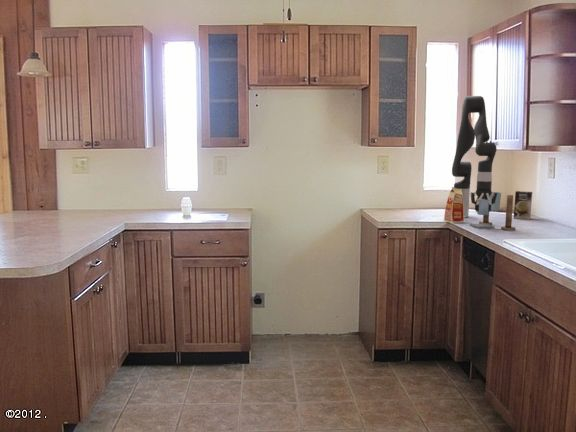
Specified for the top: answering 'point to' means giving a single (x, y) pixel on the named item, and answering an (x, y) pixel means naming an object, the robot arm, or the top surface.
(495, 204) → the drinking glass
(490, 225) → the mat
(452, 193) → the milk carton
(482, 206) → the pale blue egg shape
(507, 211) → the post
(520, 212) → the coffee box
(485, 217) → the post
